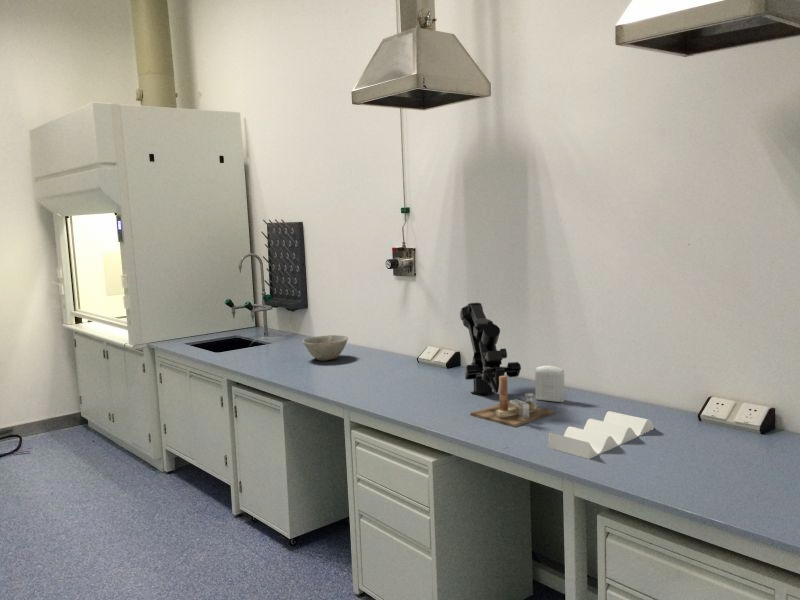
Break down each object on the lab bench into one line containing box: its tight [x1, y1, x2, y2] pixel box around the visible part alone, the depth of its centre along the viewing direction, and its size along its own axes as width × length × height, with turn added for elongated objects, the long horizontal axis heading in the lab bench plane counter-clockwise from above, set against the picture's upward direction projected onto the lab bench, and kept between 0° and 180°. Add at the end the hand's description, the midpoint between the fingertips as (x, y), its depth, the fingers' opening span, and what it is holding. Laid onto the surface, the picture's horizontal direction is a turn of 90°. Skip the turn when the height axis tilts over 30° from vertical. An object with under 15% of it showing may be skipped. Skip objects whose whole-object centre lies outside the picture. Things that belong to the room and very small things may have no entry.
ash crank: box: [496, 375, 537, 418], centre depth 217 cm, size 15×4×13 cm, turn 115°
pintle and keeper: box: [509, 392, 534, 419], centre depth 217 cm, size 8×7×6 cm
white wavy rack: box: [548, 411, 656, 460], centre depth 194 cm, size 13×35×5 cm, turn 131°
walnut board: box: [469, 400, 555, 428], centre depth 221 cm, size 19×20×1 cm
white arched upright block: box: [535, 365, 565, 403], centre depth 236 cm, size 10×4×12 cm, turn 60°
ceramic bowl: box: [301, 334, 349, 362], centre depth 324 cm, size 22×23×10 cm
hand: (496, 392), depth 224 cm, fingers closed
